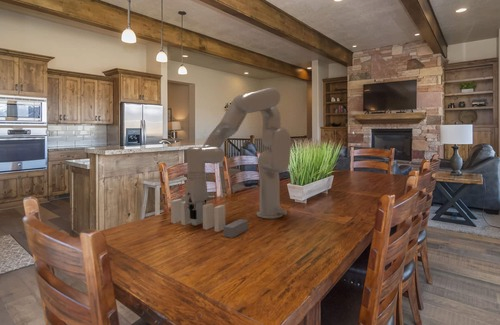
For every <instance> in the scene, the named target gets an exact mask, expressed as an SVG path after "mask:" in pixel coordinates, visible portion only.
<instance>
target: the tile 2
mask: <svg viewBox="0 0 500 325" xmlns="http://www.w3.org/2000/svg"><path fill="white" fill-rule="evenodd" d="M180 222H181V226H188V225H189V224H192V219H190V210H189V208H188V207H187V206H186V205H185V201H184V202H181V221H180Z"/></svg>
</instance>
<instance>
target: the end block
mask: <svg viewBox="0 0 500 325" xmlns="http://www.w3.org/2000/svg"><path fill="white" fill-rule="evenodd" d="M248 230H249V220H248V219H243V218H239V219H237V220H235V221H232V222H231V223H228V224H225V226H224V230H223V237H224V238H230V239H233V238H235V237H237V236H239V235H240V234H243V233H245V232H246V231H248Z"/></svg>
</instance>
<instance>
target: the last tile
mask: <svg viewBox="0 0 500 325" xmlns="http://www.w3.org/2000/svg"><path fill="white" fill-rule="evenodd" d="M224 226H226V205H225V204H220V205H217V206H214V227H213V228H214V232H217V233H219V232H221V231H224Z"/></svg>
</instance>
